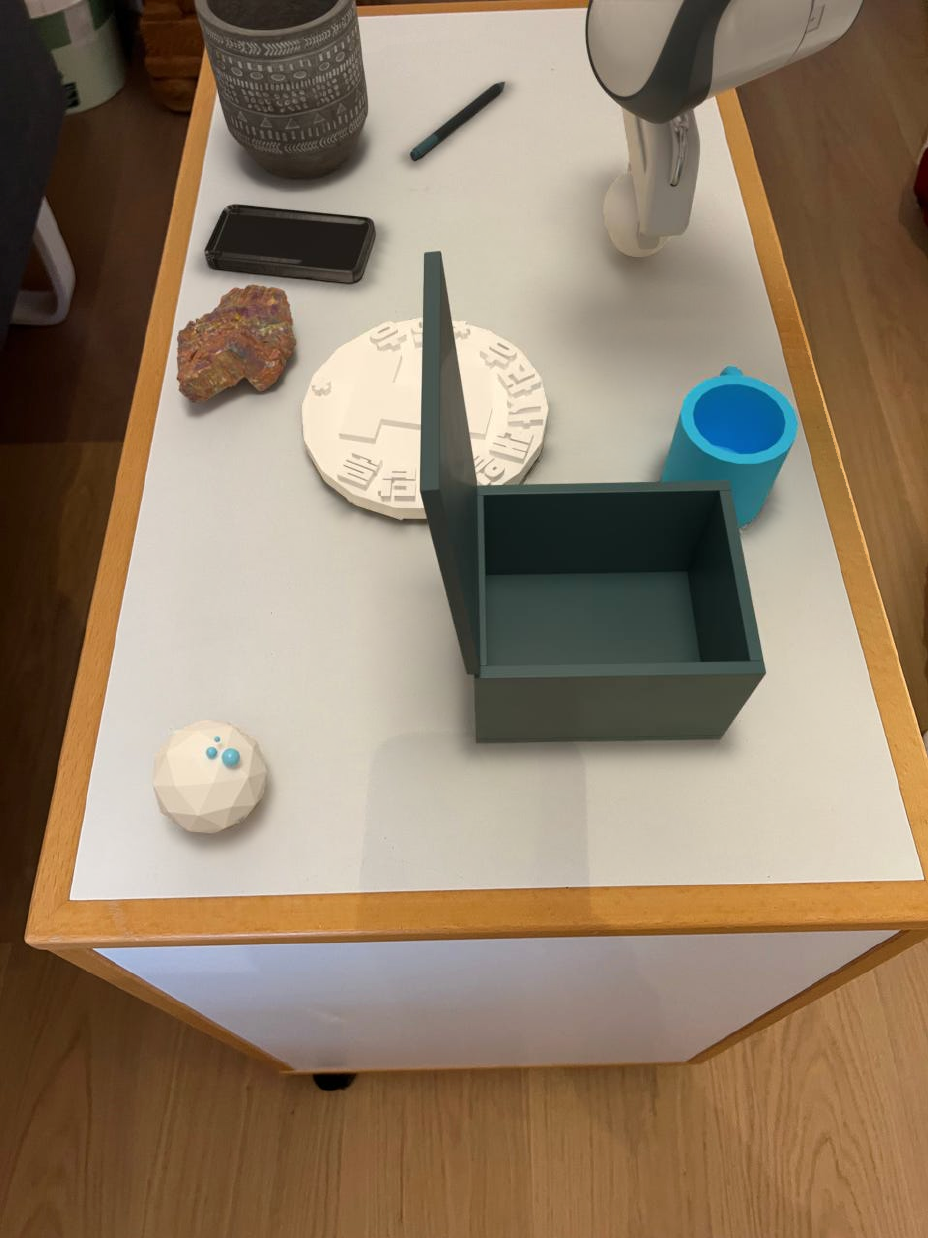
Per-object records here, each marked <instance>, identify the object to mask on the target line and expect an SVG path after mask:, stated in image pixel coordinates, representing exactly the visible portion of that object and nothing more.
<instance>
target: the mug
mask: <svg viewBox="0 0 928 1238" xmlns="http://www.w3.org/2000/svg"><path fill="white" fill-rule="evenodd" d="M798 427H799V422H798V418H797V413H796V410H795V408H794V407H793V405H792V404H791V402H790V401H789V399H788V398H787V397H786V396H785V395H784V394H783V393H782V392H780V391H779V390H778V389H777V388H776V387H775V386H774V385H771V384H769V383H767V382H765V381H762V380H760V379H758V378H755V377H750V376H745V375H743V371H742V370H741V369H740V368H738V366H735V365H727V366H725V367H724V368H723V369H722V370H721V371H720V373H719V375H718V376H715V377H712V378H708V379H705V380H703V381H702V382H700V383H698V384H697V385H695V386H694V387H692V388H691V390H690V391H689V392H688V394H686V396H685V397H684V399H683V401H682V405H681V407H680V412H679V415H678V418H677V422H676V426H675V429H674V432H673V435H672V439H671V443H670V446H669V449H668V453H667V455H666V459H665V463H664V466H663V469H662V474H661V478H660V481H659V482H671V481H721V480H729V481H730V485H731V491H732V495H733V501H734V506H735V511H736V516H737V522H738V527H739V528H740V527H744V526H745V525H747V524H748V523H749V522H751V521H752V520H754V519H755V518H756V517H757V515H758V514H759V513H760V512H761V509H762V508H763V507H764V505H765V502H766V500H767V499H768V496H769V494H770V492H771V490H772V488H773V486H774V483H775V481H776V479H777V478H778V476H779V473H780V471H781V469H782V467H783V465H784V464H785V461H786V459H787V458H788V455H789V453H790V451H791V449H792V446H793V445H794V442H795V440H796V439H797V433H798Z"/></svg>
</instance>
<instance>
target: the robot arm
mask: <svg viewBox="0 0 928 1238" xmlns="http://www.w3.org/2000/svg"><path fill="white" fill-rule="evenodd" d="M865 2H866V0H589V1H588V5H587V10H586V16H585V25H584V31H585V33H584V35H585V36H584V37H585V46H586V47H585V48H586V53H587V58H588V61H589V65H590V68H591V70H592V73H593V75H594V77H595V79H596V81H597V83H598V85H599V86H600V87H601V88H602V90H603V91H604V92H605V93H606V94H607V95H608V96H609V97H610V98H611V99H612V100H613V101H614V102H615V103H616V104H617V105H619V106H620V108H621V114H622V121H623V125H624V126H623V127H624V133H625V139H626V146H627V151H628V167H627V172H630V171H632V178H633V184H634V191H635V197H636V203H637V210H638V216H639V222H638V230H637V242H638V247H639V248H641V249H654V248H656V247H657V246H658V245H659V240H660V237H667V236H670V237H678V236H681V235H682V234H684V233H685V232H686V231H687V228H688V227H689V224H690V221H691V220H690V219H691V214H692V210H693V203H694V200H695V199H694V197H695V193H696V186H697V180H698V175H699V174H698V173H699V168H700V157H701V139H700V132H699V128H698V123H697V119H696V115H695V109H696V108H697V107H699V106H700V105H702V104H703V103H704V102H705V101H707V100H710V99H712V98H714V97H717V96H719V95H721V94H722V95H723V94H724V93H726V92H728V91H731V90H733V89H736V88H738V87H740V86H743V85H745V84H748V83H750V82H752V81H754V80H757V79H760V78H762V77H764V76H766V75H769V74H771V73H774V72H776V71H777V70H780V69H782V68H784V67H787V66H789V65H792V64H794V63H796V62H799V61H801V60H803V59H805V58H807V57H809V56H812V55H815V54H816V53H819V52H821V51H822V50H824V49H826V48H828V47H830V46H832V45H834V44H836V43H837V42H838V41H840V40H841V39H842V38H843V37H844V36H845V35H846V34H847V33H848V32H849V31H850V29H851V28H852V27H853V25H854V23H855V22H856V20H857V18H858V17H859V14H860V13H861V10H862V8H863V6H864V4H865Z"/></svg>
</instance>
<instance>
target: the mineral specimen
mask: <svg viewBox="0 0 928 1238" xmlns="http://www.w3.org/2000/svg"><path fill="white" fill-rule="evenodd" d="M293 325H294V320H293V317H292V312H291V304H290V302H289V300H288V296H287V294H286V291H285V290H283V289H281V288H278V287H274V286H273V287H272V286H271V287H267V286H265V285H259V284H248V285H246V286H245V287H244V288H243V287H242V288H239V287H233V288H231V289H230V290H229V291H228V292H227V293H226V294H223V295H221V297H220V300H219V303H218V305H217V307H215V308H214V309H213V310H212V311H211V312H208V313H204V314H203V316H200V318H195V320H194V321H193V320H189V321H188V323H187V324H186V325H185V327H184V328H183V329H180V330H178V333H177V336H176V341H177V348H176V352H177V356H176V364H177V367H176V368H177V374H176V377H175V379H176V381H177V382H178V383H179V385H178V391H179V393H181V394H182V396H184V397H185V398H186V399H187V400H188V401H189V402H190V403H191V404H196V403H198V402H200V401H203V402H206V401H208V400H209V399H210V398H212V397H214V396H215V395H217V394H218V393H220V392H222V391H224V390H225V389H227V388H229V387H230V388H232V387H234V386H237V384H238V383H239V381H241V380H242V379H244V378H246V379H247V380H248V382H249V383H250V385H252V386H253V387H254V388H255V389H256V390H257V391H259V392H264V391H266V390H267V389H268V388H269V387H271V386H272V385H274V384H275V383H276V382H277V381H278V379H279V377H280V375H281V374H282V372H283V371H284V370H285V366H286V365H287V362H286V361H287V359H288V358H289V357H290V356H291V355H292V354H294V352H295V349H296V346H297V339H296V337H295V334H294V332H293V328H292V326H293Z"/></svg>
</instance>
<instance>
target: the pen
mask: <svg viewBox="0 0 928 1238" xmlns="http://www.w3.org/2000/svg"><path fill="white" fill-rule="evenodd" d="M505 84H506V81H500V82H498V83H494V84H492V85H491V86H490V87H489V88H487V89H486V90H485V91H483V92H482V93H481V94H480V95H479V96H477V97H476V98H475V99H474V100H472V101H471V102H470V103H469V104H467V105H466V106H465V107H464V108H462V109H460V111H459V112H457V113H456V114H455V115H453V117H451V118H449V120H447V121H446V122H444V124H442V125H441V126H440V127H438V128H437V129H436V130H434V132H432V133H431V134H429V136H427V137H426V138H425V139H424V140H422V141H421V142H420V143H419V144H417V145H416V146H415V147H414V148H412V150H411V151H410V153H409V155H410V158H411V159H412V160H414V161H416V160H418V159H420V158H421V157H422V156H423V155H425V154H426V153H428V152H429V151H430V150H431V149H433V147H435V146H436V145H437V144H438V143H440V142H441V141H442V140H443V139H445V138H446V137H447V136H448V135H450V134H451V133H452V132H453V131H455V130H456V129H457V128H458V127H460V126H461V125H462V124H463V123H464V122H466V121H467V120H468V119H470V117H472V116H473V115H474V114H476V113H477V112H478V111H480V110H481V109H482V108H483V107H484V106H486V105H487V104H488V103H489V102H491V101H492V100H493V99H494V98H495V97H497V96H498V95H499V94H500V93H501V91H502V89H503V88H504V86H505Z"/></svg>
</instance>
